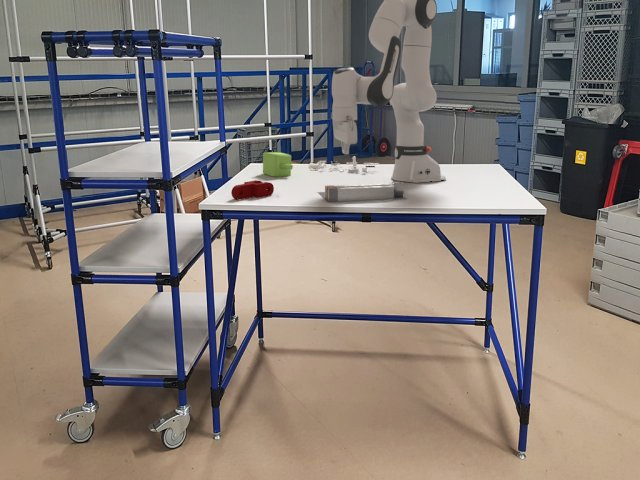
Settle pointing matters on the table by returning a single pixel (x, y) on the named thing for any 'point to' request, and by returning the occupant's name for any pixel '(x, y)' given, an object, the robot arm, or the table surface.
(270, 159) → the gearbox
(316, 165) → the miniature set
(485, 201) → the table surface
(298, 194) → the table surface
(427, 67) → the robot arm
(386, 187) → the block
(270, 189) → the mechanical linkage
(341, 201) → the mat
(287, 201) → the table surface
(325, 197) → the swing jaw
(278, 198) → the table surface
